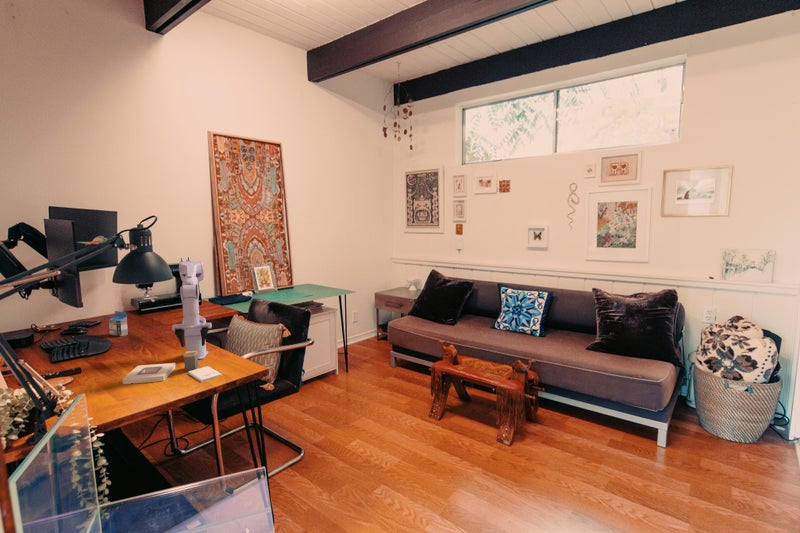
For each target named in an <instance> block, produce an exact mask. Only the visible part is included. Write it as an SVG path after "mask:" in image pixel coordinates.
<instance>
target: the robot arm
mask: <svg viewBox="0 0 800 533" xmlns="http://www.w3.org/2000/svg"><path fill="white" fill-rule="evenodd" d="M178 270H179V276H180V279H181V281H182V284H181V287H179V288H180V290H179V293H180V299H181V305H182V313H183V316H182V317H183V319H182V321H181V323H179V324H178V323H177V324H173V325H171V331H174V335H175V336H176V338H177V339H178V340H179V343H180V347H181V348H184V347H185V346H186V347H185V348H186V351H198V353H197V356H198V360H204V359H205V358H206V356H207V355H208V353H209V351H208V350H207V342H206V339H207V335H208V333H209V330H210V329H212V327H213V326H212V322H207V321H206V318H205V317H204V316H201V315H200V305H199V300H200V299H199V296H200V290H199V288H200V287H199V284H200V282H201V281H203V280H204V277H205V276H204V272H205V271H204V270H205V269H204V261H203V260H192V261H190V260H187V261H179V263H178Z"/></svg>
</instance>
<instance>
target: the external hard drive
mask: <svg viewBox="0 0 800 533" xmlns="http://www.w3.org/2000/svg"><path fill="white" fill-rule="evenodd" d="M187 374H188V375H189V376H191V377H192V378H194V380H195V379H196V380H197V381H198V382H200V383H204V382H207V381H210V380H212V379H213V378H214V379H217V378H220V376H221V377H223V373H220V371H218V370H216V369H214V368H212V367H210V366H209V365H207V366H203V367H198V368H197V369H195V370H192V371H187ZM214 379H213V380H214Z"/></svg>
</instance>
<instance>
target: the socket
mask: <svg viewBox="0 0 800 533" xmlns="http://www.w3.org/2000/svg"><path fill="white" fill-rule="evenodd" d="M176 368H177V367H176V362H171V363H158V364H157V363H156V364H155V363H154V364H144V365H140V364H139V365H137V366H135V368H133V369H132V370H131V371H130V372H129V373H127V375H126V376H125V377H123V378H122V385H130V384H131V383H133V384H143V383H155V382H165V381H166V380H167V378H168V377H169V376H170V375H171V373H172V372H173V371H174V370H175V369H176ZM131 385H132V384H131Z"/></svg>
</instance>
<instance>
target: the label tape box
mask: <svg viewBox="0 0 800 533" xmlns="http://www.w3.org/2000/svg"><path fill="white" fill-rule="evenodd" d="M108 326H109V327H108V328H109V335H110V336H115V337H126V336H128V335H129V332H128V331H129V330H128V317H127V312H125V311H117V310H114V316H112V317H111V318H109V319H108Z"/></svg>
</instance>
